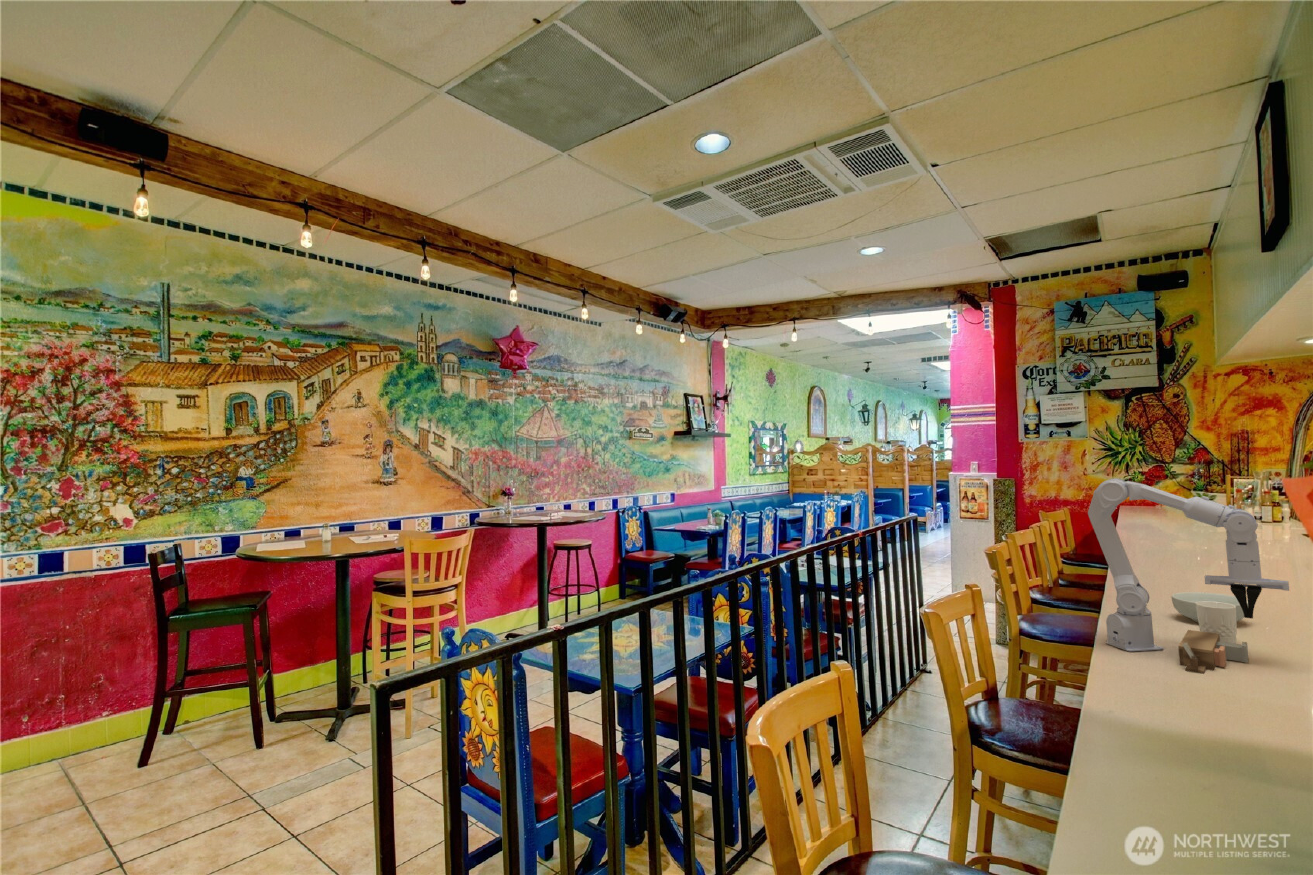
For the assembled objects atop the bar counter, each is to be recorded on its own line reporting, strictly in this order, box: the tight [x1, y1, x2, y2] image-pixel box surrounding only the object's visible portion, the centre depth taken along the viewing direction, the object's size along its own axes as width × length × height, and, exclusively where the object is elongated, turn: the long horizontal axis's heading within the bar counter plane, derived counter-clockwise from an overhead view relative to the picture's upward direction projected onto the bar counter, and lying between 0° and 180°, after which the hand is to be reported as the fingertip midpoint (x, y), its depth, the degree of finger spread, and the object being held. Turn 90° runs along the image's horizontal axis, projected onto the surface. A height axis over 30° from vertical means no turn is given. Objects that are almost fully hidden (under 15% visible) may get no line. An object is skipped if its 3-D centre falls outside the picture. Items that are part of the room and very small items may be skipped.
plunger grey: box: [1217, 641, 1249, 664], centre depth 148 cm, size 7×4×4 cm, turn 43°
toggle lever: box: [1182, 643, 1199, 662], centre depth 143 cm, size 1×2×4 cm, turn 133°
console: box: [1178, 629, 1220, 674], centre depth 148 cm, size 6×22×4 cm, turn 133°
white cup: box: [1196, 601, 1238, 644], centre depth 161 cm, size 8×8×10 cm
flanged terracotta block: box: [1214, 646, 1227, 668], centre depth 146 cm, size 7×4×4 cm, turn 43°
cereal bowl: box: [1171, 591, 1248, 623], centre depth 180 cm, size 17×17×7 cm
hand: (1248, 617), depth 146 cm, fingers closed
